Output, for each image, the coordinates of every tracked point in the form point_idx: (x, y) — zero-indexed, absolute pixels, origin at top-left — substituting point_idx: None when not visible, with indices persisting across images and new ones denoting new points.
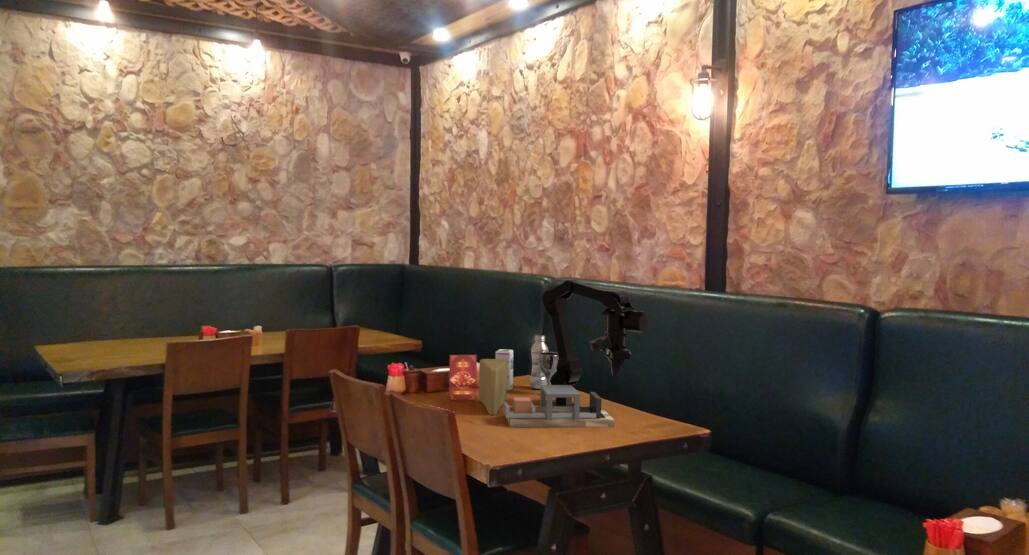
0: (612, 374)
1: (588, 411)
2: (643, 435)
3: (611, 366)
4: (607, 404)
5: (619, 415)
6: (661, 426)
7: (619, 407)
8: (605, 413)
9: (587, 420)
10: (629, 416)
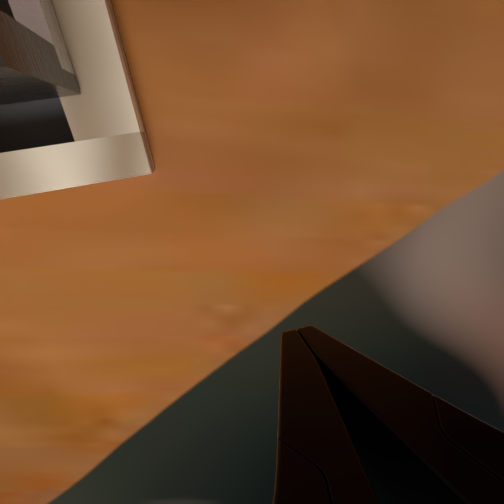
0: (300, 341)
1: None
2: None
3: (341, 434)
4: (414, 202)
5: (187, 251)
6: (14, 416)
7: (354, 255)
8: (35, 175)
9: None
10: (177, 295)
